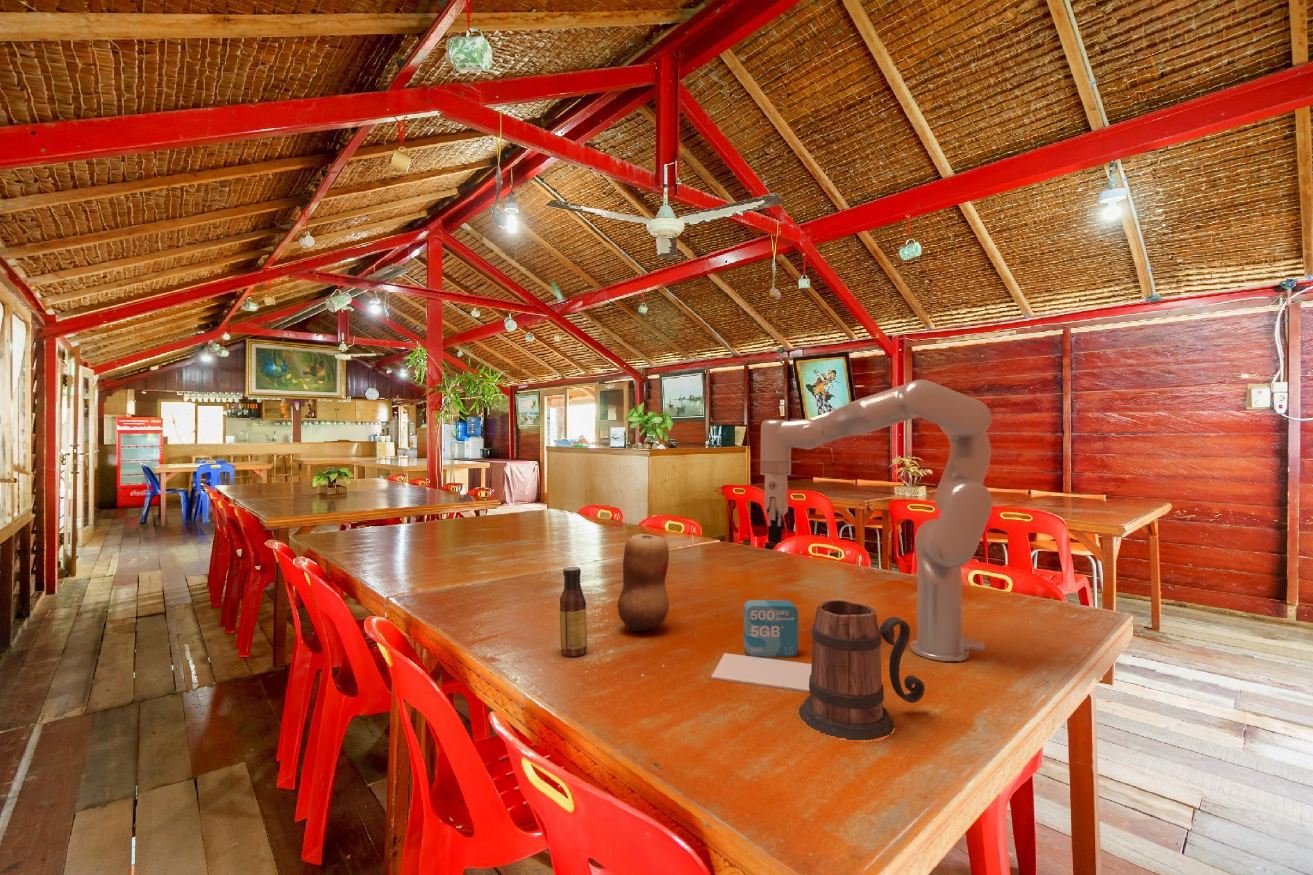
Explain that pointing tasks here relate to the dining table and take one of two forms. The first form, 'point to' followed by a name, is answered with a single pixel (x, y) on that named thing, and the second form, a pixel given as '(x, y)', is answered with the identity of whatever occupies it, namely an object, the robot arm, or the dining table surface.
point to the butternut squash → (644, 582)
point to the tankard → (853, 672)
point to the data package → (770, 628)
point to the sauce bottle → (573, 615)
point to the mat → (764, 672)
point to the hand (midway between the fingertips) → (774, 541)
